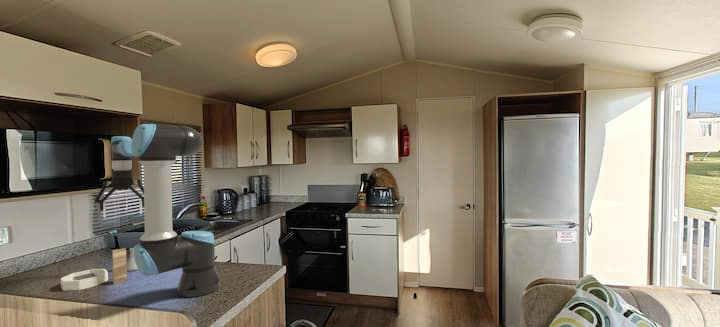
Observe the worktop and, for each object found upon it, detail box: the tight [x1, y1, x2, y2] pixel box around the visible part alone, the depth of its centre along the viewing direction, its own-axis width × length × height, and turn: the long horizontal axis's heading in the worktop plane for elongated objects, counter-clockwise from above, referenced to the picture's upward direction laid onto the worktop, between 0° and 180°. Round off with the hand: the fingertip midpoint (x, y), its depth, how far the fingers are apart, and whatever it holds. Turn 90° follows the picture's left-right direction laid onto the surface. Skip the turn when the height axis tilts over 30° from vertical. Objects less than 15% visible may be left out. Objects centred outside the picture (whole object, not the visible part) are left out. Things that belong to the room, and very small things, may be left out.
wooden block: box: [111, 247, 128, 285], centre depth 138 cm, size 2×4×14 cm, turn 139°
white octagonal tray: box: [60, 268, 109, 292], centre depth 137 cm, size 15×15×4 cm
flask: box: [126, 247, 139, 272], centre depth 155 cm, size 7×7×10 cm
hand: (123, 215), depth 148 cm, fingers open, 13 cm apart
